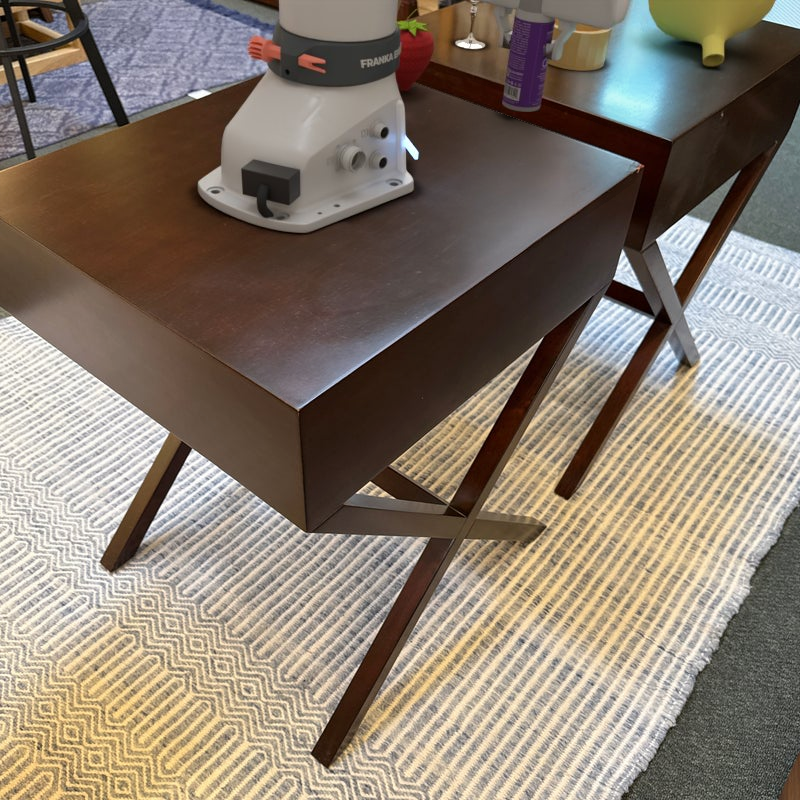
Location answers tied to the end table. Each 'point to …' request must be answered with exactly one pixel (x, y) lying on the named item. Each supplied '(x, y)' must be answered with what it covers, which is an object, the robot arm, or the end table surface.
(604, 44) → the tape roll
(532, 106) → the container
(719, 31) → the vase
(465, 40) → the wineglass
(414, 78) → the strawberry
